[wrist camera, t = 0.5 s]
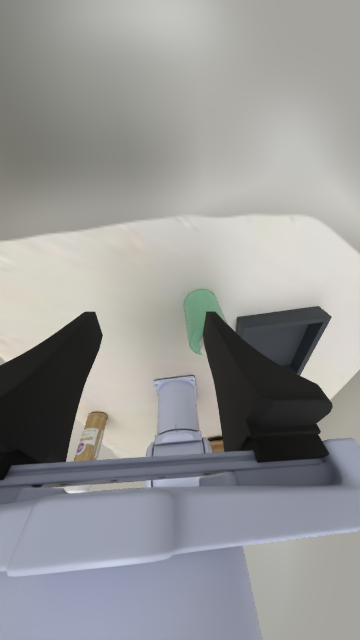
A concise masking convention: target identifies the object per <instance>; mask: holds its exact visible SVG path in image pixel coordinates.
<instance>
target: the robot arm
mask: <svg viewBox="0 0 360 640" xmlns="http://www.w3.org/2000/svg"><path fill="white" fill-rule="evenodd" d="M102 336H103V335H102V332H101V329H100V325H99V322H98V319H97V316H96V313H95V312H84V313H83V314H81V315H80V316H78V317H77V318H76V319H74V320H73V321H72V322H70V323H69V324H68V325H66V326H65V327H63V328H62V329H61V330H59V331H58V332H57V333H55V334H54V335H52V336H51V337H49V338H48V339H46V340H45V341H43V342H42V343H40V344H39V345H37V346H35V347H34V348H32V349H30V350H29V351H27V352H25V353H23V354H22V355H20V356H18V357H16V358H14V359H12V360H10V361H8V362H6V363H4V364H2V365H0V640H262V635H261V631H260V626H259V621H258V616H257V611H256V607H255V602H254V597H253V592H252V588H251V583H250V578H249V573H248V568H247V564H246V559H245V555H244V550H243V545H251V544H259V543H266V542H274V541H282V540H290V539H298V538H306V537H313V536H321V535H330V534H337V533H345V532H353V531H360V446H359V445H358V444H357V442H356V441H355V439H353V438H342V439H329V440H325V441H321V439H320V437H319V435H318V434H320V432H321V431H320V429H319V427H318V426H317V424H316V423H317V422H319V421H320V420H321V419H322V418H324V417H325V416H326V415H328V414H329V413H330V411H331V409H332V403H331V402H330V400H329V399H328V398H327V396H326V395H325V393H324V392H323V391H322V389H321V388H320V387H319V386H318V384H316V383H314V382H311V381H309V380H307V379H305V378H303V377H301V376H299V375H297V374H295V373H293V372H291V371H289V370H288V369H286V368H284V367H282V366H280V365H279V364H277V363H275V362H274V361H272V360H271V359H269V358H268V357H266V356H264V355H263V354H262V353H260V352H259V351H257V350H256V349H255V348H253V347H252V346H251V345H249V344H248V343H247V342H246V341H245V340H243V339H242V338H241V337H240V336H239V335H238V334H237V333H236V332H235V331H234V330H233V329H232V328H231V327H230V326H229V325H228V324H227V323H226V322H225V321H224V320H223V319H222V318H221V317H220V316H219V315H218V314H217V313H216V312H215V311H206V316H205V322H204V328H203V341H204V347H205V351H206V354H207V358H208V361H209V365H210V368H211V372H212V375H213V380H214V384H215V390H216V396H217V402H218V408H219V415H220V422H221V430H222V438H223V446H224V452H217V453H212V449H211V445H210V442H209V441H208V440H207V439H206V437H202V435H201V431H200V429H199V422H198V414H197V407H196V401H197V392H196V384H195V377H194V376H186V377H178V378H170V379H162V380H155V381H154V382H153V384H154V386H155V389H156V391H157V393H158V396H159V399H158V426H157V435H156V436H155V442H152V443H151V444H150V445H149V447H148V448H147V451H146V457H138V458H122V459H107V460H91V461H75V462H66V458H67V453H68V448H69V442H70V438H71V434H72V429H73V425H74V421H75V417H76V413H77V409H78V405H79V402H80V398H81V395H82V391H83V388H84V385H85V382H86V380H87V377H88V375H89V372H90V370H91V368H92V365H93V363H94V361H95V358H96V356H97V353H98V351H99V348H100V344H101V340H102ZM134 481H145V488H129V489H115V490H103V491H93V492H81V493H68V492H66V491H65V490H64V489H62V488H52V487H66V486H80V485H93V484H106V483H121V482H134Z"/></svg>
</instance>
